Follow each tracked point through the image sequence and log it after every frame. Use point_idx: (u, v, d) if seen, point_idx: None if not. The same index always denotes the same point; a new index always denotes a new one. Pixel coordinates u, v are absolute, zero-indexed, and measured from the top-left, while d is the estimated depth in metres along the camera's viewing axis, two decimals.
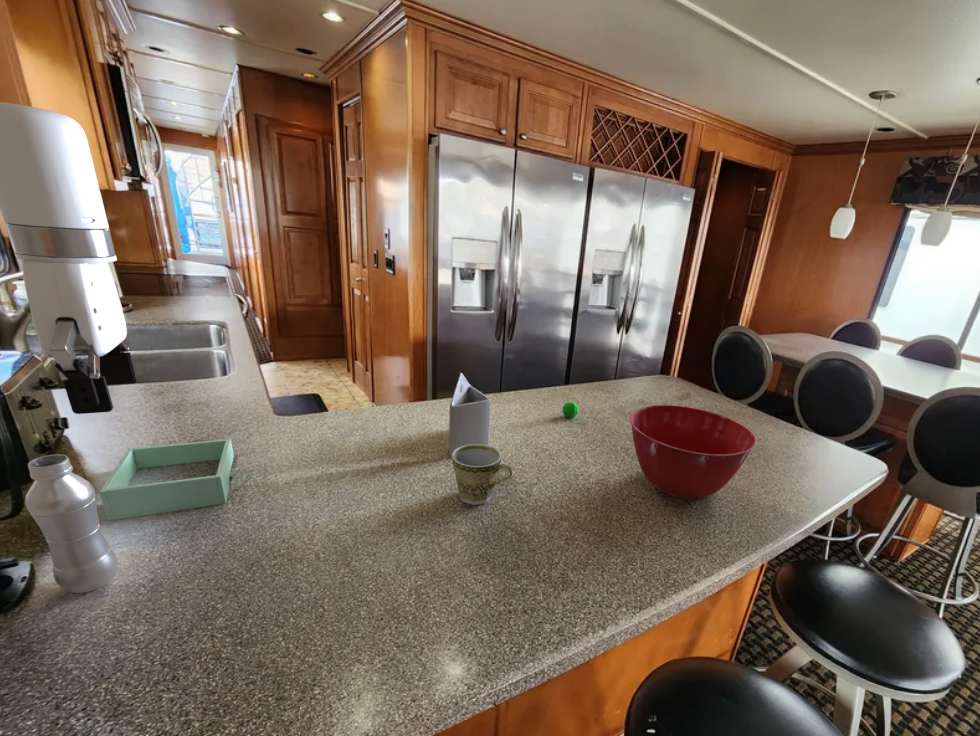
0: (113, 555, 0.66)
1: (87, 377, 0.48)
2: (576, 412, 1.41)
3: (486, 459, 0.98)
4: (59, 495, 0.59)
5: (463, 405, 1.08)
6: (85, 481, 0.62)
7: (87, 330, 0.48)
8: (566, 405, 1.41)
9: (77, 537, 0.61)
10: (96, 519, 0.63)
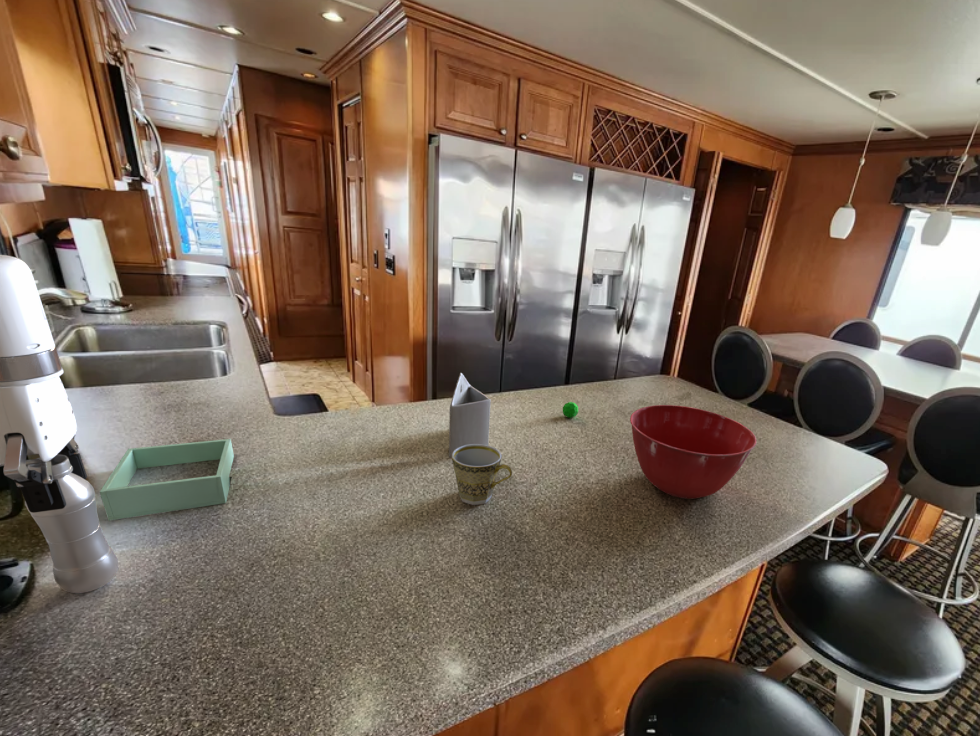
0: (113, 555, 0.66)
1: (41, 483, 0.55)
2: (576, 412, 1.41)
3: (486, 459, 0.98)
4: None
5: (463, 405, 1.08)
6: (85, 481, 0.62)
7: (33, 442, 0.53)
8: (566, 405, 1.41)
9: (77, 537, 0.61)
10: (96, 519, 0.63)
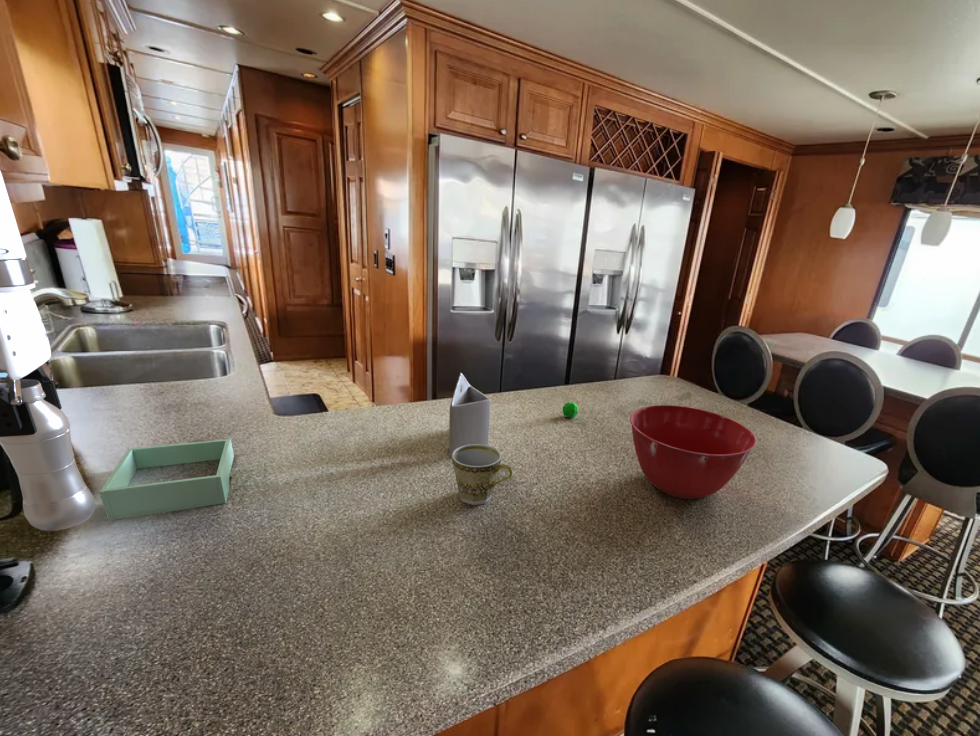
0: (89, 494, 0.62)
1: (8, 403, 0.52)
2: (576, 412, 1.41)
3: (486, 459, 0.98)
4: None
5: (463, 405, 1.08)
6: (59, 410, 0.58)
7: (0, 356, 0.50)
8: (566, 405, 1.41)
9: (49, 469, 0.57)
10: (70, 452, 0.59)
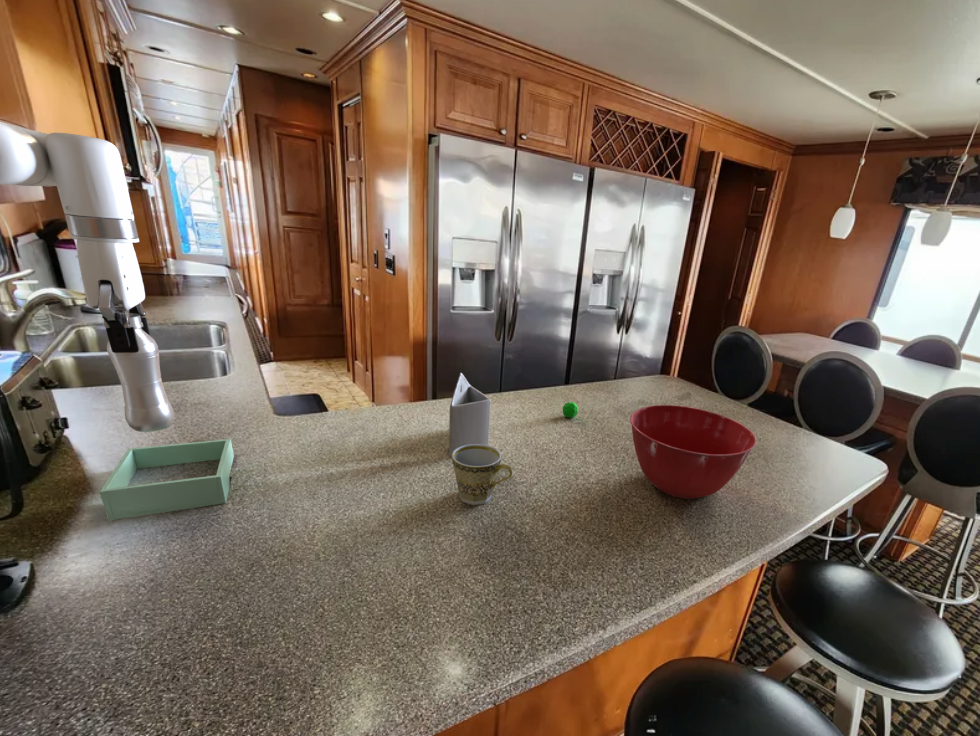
0: (170, 406, 0.81)
1: (122, 326, 0.70)
2: (576, 412, 1.41)
3: (486, 459, 0.98)
4: None
5: (463, 405, 1.08)
6: (152, 338, 0.77)
7: (119, 289, 0.68)
8: (566, 405, 1.41)
9: (145, 382, 0.76)
10: (159, 371, 0.78)
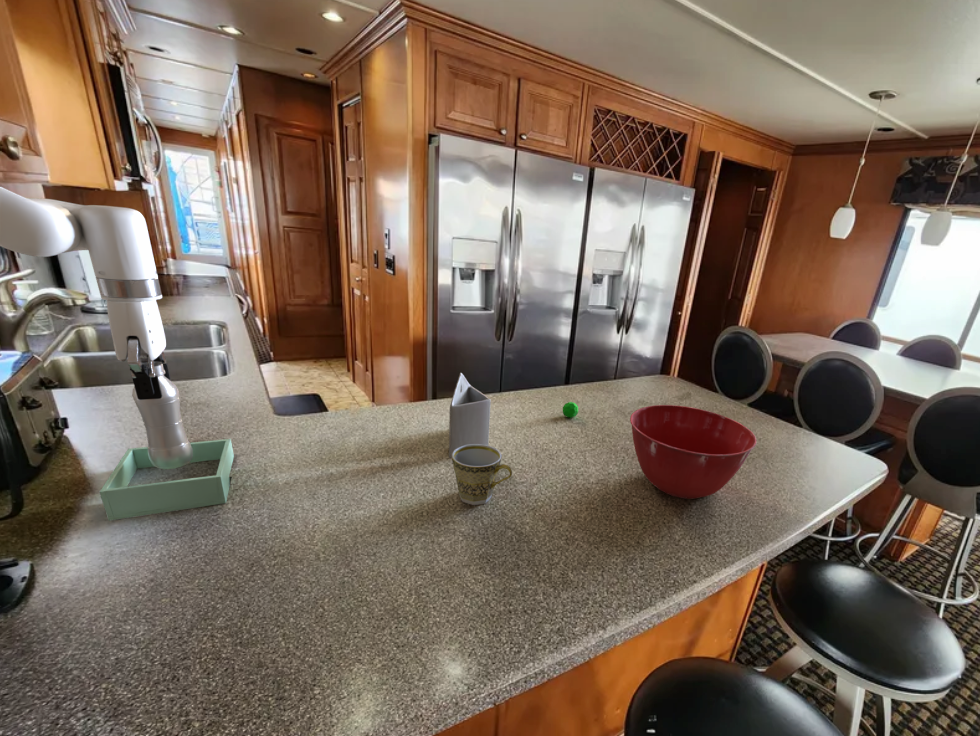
0: (190, 444, 0.87)
1: (148, 376, 0.76)
2: (576, 412, 1.41)
3: (486, 459, 0.98)
4: None
5: (463, 405, 1.08)
6: (173, 383, 0.83)
7: (145, 344, 0.74)
8: (566, 405, 1.41)
9: (167, 424, 0.82)
10: (179, 413, 0.84)
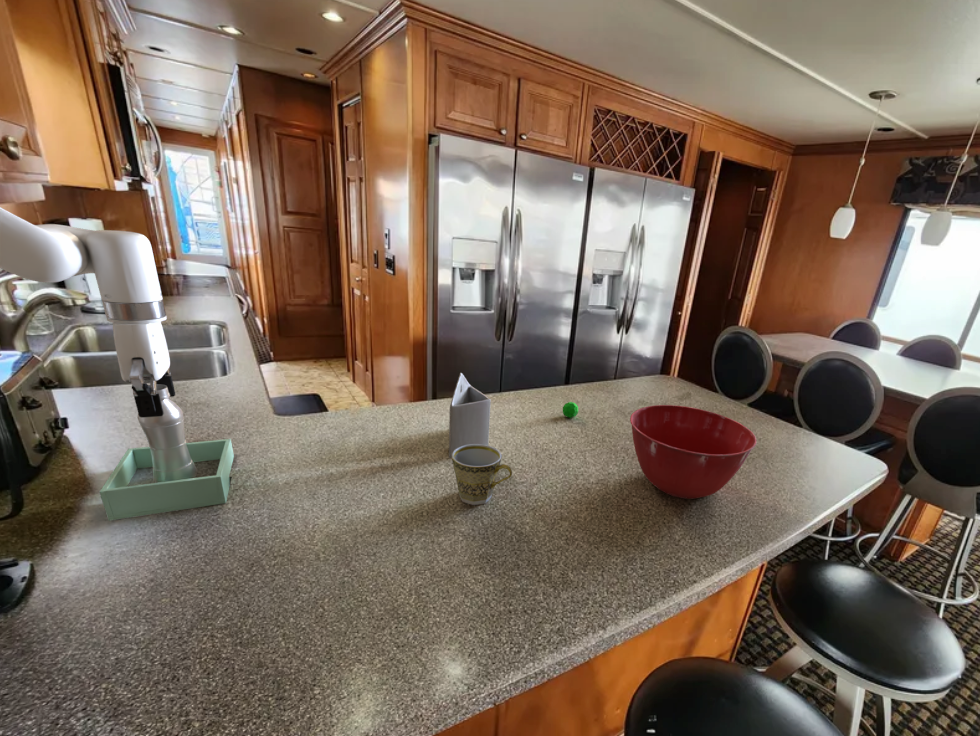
0: (193, 464, 0.89)
1: (149, 394, 0.76)
2: (576, 412, 1.41)
3: (486, 459, 0.98)
4: None
5: (463, 405, 1.08)
6: (177, 405, 0.84)
7: (150, 365, 0.76)
8: (566, 405, 1.41)
9: (172, 446, 0.84)
10: (184, 435, 0.86)
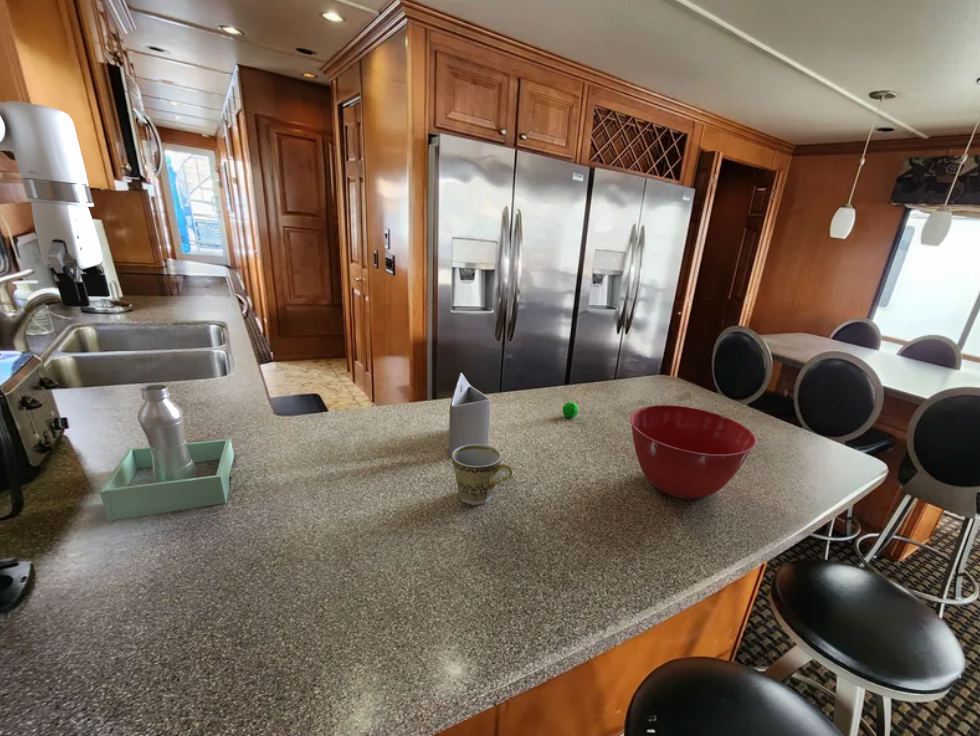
0: (193, 464, 0.89)
1: (72, 280, 0.74)
2: (576, 412, 1.41)
3: (486, 459, 0.98)
4: (162, 412, 0.81)
5: (463, 405, 1.08)
6: (177, 405, 0.84)
7: (72, 249, 0.74)
8: (566, 405, 1.41)
9: (172, 446, 0.84)
10: (184, 434, 0.86)
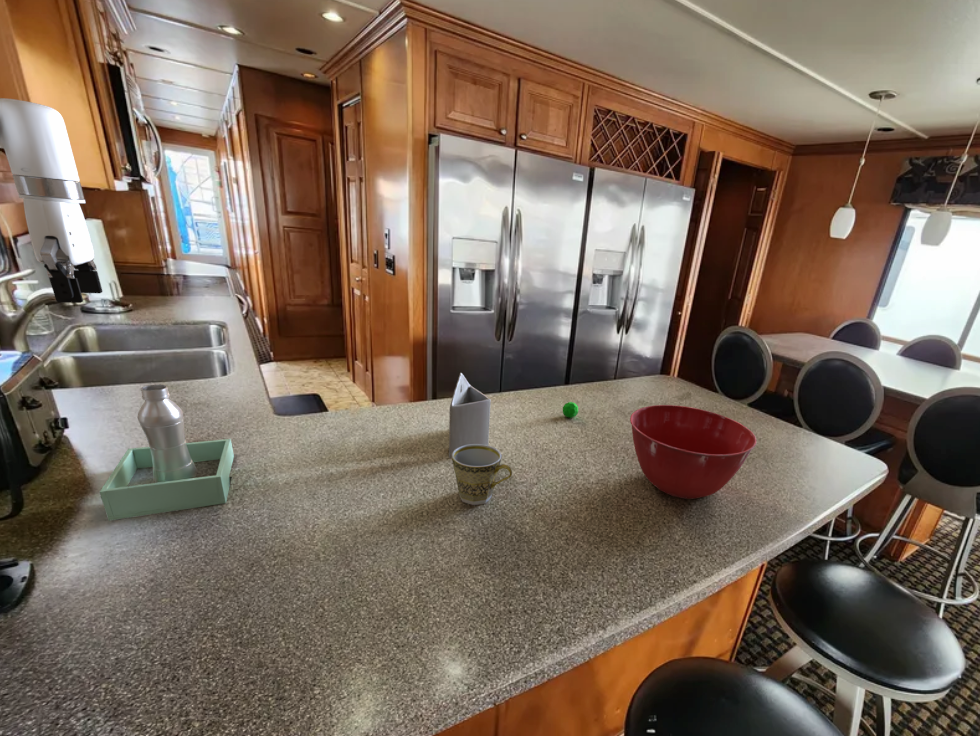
0: (193, 464, 0.89)
1: (65, 276, 0.75)
2: (576, 412, 1.41)
3: (486, 459, 0.98)
4: (162, 412, 0.81)
5: (463, 405, 1.08)
6: (177, 405, 0.84)
7: (65, 245, 0.74)
8: (566, 405, 1.41)
9: (172, 446, 0.84)
10: (184, 434, 0.86)
